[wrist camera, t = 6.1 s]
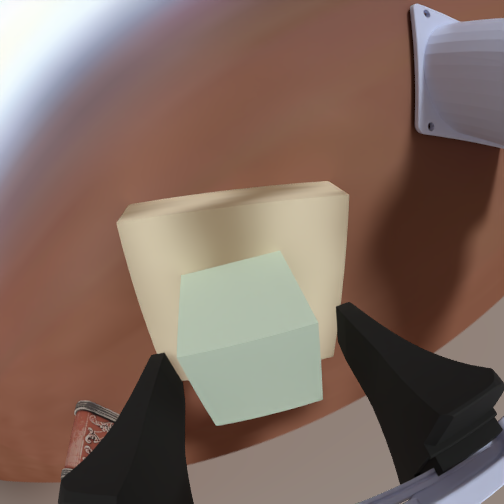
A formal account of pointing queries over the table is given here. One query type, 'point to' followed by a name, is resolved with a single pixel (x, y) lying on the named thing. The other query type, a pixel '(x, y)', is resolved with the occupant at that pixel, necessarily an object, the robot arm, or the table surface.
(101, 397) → the table surface
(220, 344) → the sage block
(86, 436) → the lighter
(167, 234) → the maple block
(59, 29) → the table surface
